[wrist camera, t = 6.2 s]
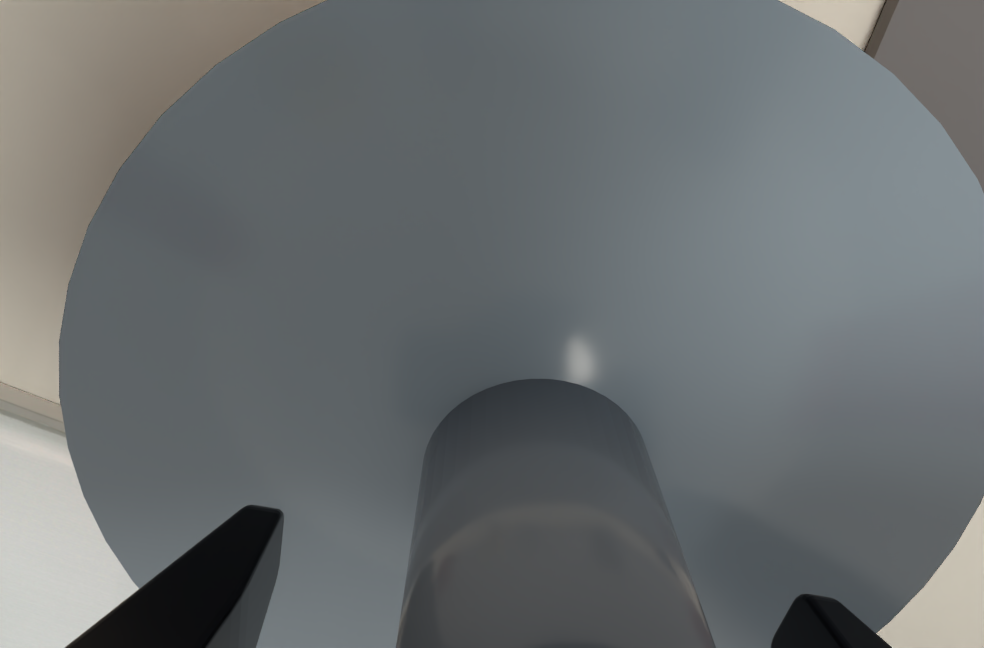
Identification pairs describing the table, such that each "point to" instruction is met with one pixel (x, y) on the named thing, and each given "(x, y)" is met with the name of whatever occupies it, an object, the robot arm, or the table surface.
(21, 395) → the hard drive
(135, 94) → the table surface
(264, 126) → the lid
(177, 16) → the table surface
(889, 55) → the mat
